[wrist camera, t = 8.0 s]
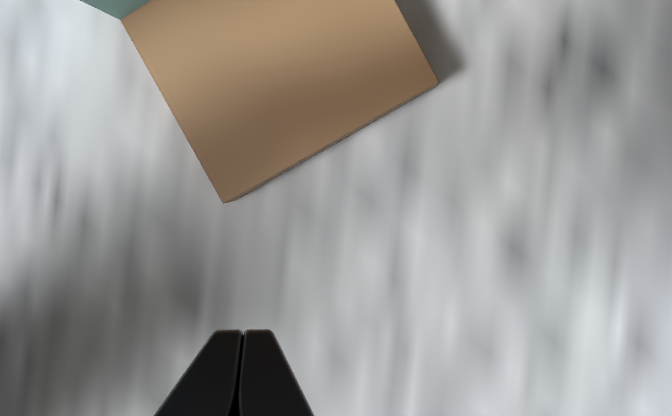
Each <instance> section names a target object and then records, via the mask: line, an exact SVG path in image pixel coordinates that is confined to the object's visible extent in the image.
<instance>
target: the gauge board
mask: <svg viewBox="0 0 672 416" xmlns="http://www.w3.org/2000/svg"><path fill="white" fill-rule="evenodd" d="M121 22H122V24H123V26H124V27H125V29H126V31H127V33H128V34H129V36H130V38H131V40H132V42H133V43H134V45H135V47H136V49H137V51H138V52H139V54H140V56H141V58H142V60H143V61H144V63H145V65H146V67H147V68H148V70H149V72H150V74H151V76H152V77H153V79H154V81H155V83H156V85H157V86H158V88H159V90H160V92H161V93H162V95H163V97H164V99H165V101H166V102H167V104H168V106H169V108H170V110H171V111H172V113H173V115H174V117H175V118H176V120H177V122H178V124H179V126H180V127H181V129H182V131H183V133H184V135H185V136H186V138H187V140H188V142H189V143H190V145H191V147H192V149H193V151H194V152H195V154H196V156H197V158H198V160H199V161H200V163H201V165H202V167H203V168H204V170H205V172H206V174H207V176H208V177H209V179H210V181H211V183H212V185H213V186H214V188H215V190H216V192H217V194H218V195H219V197H220V199H221V201H222V202H223V204H224V203H228V202H231V201H235V200H236V199H238V198H240V197H242V196H244V195H245V194H247V193H249V192H251V191H252V190H254V189H256V188H258V187H259V186H261V185H263V184H265V183H266V182H268V181H270V180H272V179H274V178H275V177H277V176H279V175H281V174H282V173H284V172H286V171H288V170H289V169H291V168H293V167H295V166H297V165H298V164H300V163H302V162H304V161H305V160H307V159H309V158H311V157H312V156H314V155H316V154H318V153H319V152H321V151H323V150H325V149H327V148H328V147H330V146H332V145H334V144H335V143H337V142H339V141H341V140H342V139H344V138H346V137H348V136H349V135H351V134H353V133H355V132H357V131H358V130H360V129H362V128H364V127H365V126H367V125H369V124H371V123H372V122H374V121H376V120H378V119H379V118H381V117H383V116H385V115H387V114H388V113H390V112H392V111H394V110H395V109H397V108H399V107H401V106H402V105H404V104H406V103H408V102H410V101H411V100H413V99H415V98H417V97H418V96H420V95H422V94H424V93H425V92H427V91H429V90H431V89H432V88H434V87H436V85H437V83H438V80H437V78H436V76H435V74H434V72H433V71H432V69H431V67H430V65H429V63H428V61H427V60H426V58H425V56H424V54H423V52H422V50H421V48H420V47H419V45H418V43H417V41H416V39H415V37H414V36H413V34H412V32H411V30H410V28H409V26H408V24H407V23H406V21H405V19H404V17H403V15H402V13H401V11H400V10H399V8H398V6H397V4H396V2H395V0H150V1H149V2H147V3H146V4H144V5H143V6H141V7H140V8H138V9H137V10H135V11H133V12H132V13H130V14H129V15H127V16H126V17H124V18H123V19H121Z"/></svg>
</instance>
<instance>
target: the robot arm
mask: <svg viewBox="0 0 672 416" xmlns="http://www.w3.org/2000/svg"><path fill="white" fill-rule="evenodd" d="M154 416H314V414H313V412H312V410H311V408H310V406H309V404H308V402H307V400H306V398H305V396H304V394H303V392H302V390H301V388H300V386H299V384H298V382H297V380H296V378H295V376H294V374H293V372H292V369H291V367H290V365H289V363H288V361H287V359H286V357H285V355H284V353H283V351H282V349H281V347H280V345H279V343H278V341H277V339H276V337H275V335H274V333H273V332H272V331H271V330H268V329H265V330H246V331H245V332H244V335H243V332H242V331H241V330H216V331H215V332H213V334H212V335H211V336H210V338H209V339H208V340H207V342H206V343H205V345H204V346H203V347H202V349H201V350H200V352H199V353H198V354H197V356H196V357H195V359H194V360H193V361H192V363H191V364H190V366H189V367H188V368H187V370H186V371H185V373H184V374H183V375H182V377H181V378H180V380H179V381H178V383H177V384H176V385H175V387H174V388H173V390H172V391H171V392H170V394H169V395H168V397H167V398H166V399H165V401H164V402H163V404H162V405H161V406H160V408H159V409H158V411H157V412H156V413H155V415H154Z"/></svg>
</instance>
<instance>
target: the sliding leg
mask: <svg viewBox="0 0 672 416" xmlns="http://www.w3.org/2000/svg"><path fill="white" fill-rule="evenodd" d="M80 1H82V2H85V3H87V4H89V5H91V6H93V7H95V8H97V9H99V10H101V11H103V12H105V13H107V14H109V15H111V16H113V17H116V18H118V19H120V20H121V19H123V18H124V17H126V16H127V15H129V14H130V13H132V12H133V11H135V10H137V9H138V8H140V7H141V6H143V5H144V4H146V3H147V2H149V1H150V0H80Z"/></svg>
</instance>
